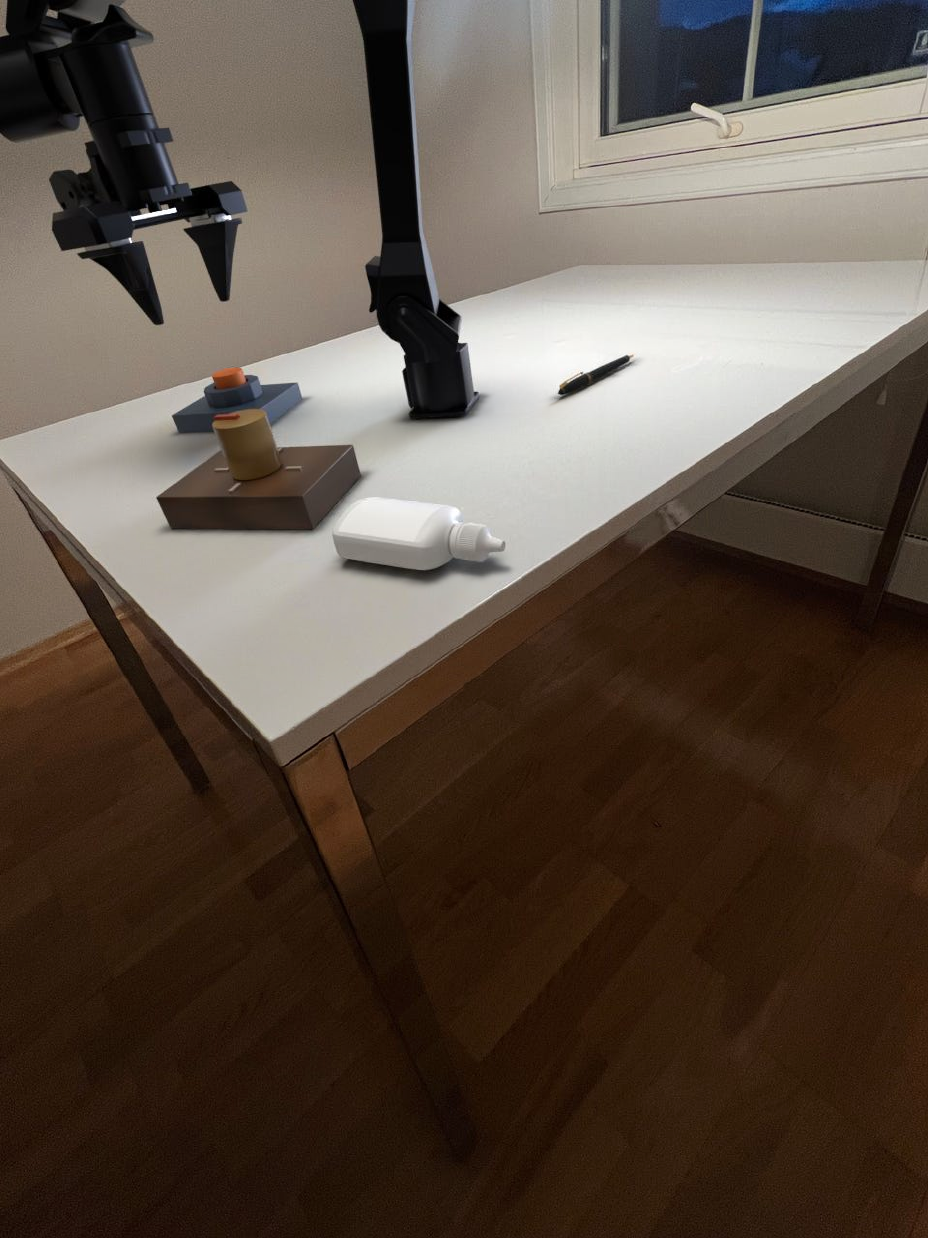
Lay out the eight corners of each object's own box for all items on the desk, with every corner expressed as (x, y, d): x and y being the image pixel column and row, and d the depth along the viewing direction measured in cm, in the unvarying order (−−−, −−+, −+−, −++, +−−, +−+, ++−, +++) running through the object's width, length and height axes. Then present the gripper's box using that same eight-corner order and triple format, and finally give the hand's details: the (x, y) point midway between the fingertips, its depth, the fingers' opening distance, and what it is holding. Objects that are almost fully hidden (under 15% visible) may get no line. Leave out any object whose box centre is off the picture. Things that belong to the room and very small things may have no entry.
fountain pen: (630, 359, 74) (631, 346, 73) (639, 360, 74) (639, 346, 73) (553, 399, 67) (552, 384, 66) (562, 400, 66) (561, 386, 66)
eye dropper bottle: (330, 494, 43) (487, 511, 38) (378, 497, 48) (523, 512, 43) (327, 558, 44) (480, 583, 39) (374, 554, 49) (516, 576, 44)
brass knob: (291, 458, 55) (274, 403, 53) (266, 480, 52) (246, 423, 49) (248, 459, 57) (229, 406, 54) (221, 480, 53) (199, 425, 51)
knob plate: (361, 475, 58) (352, 442, 56) (313, 529, 50) (301, 493, 49) (232, 477, 62) (220, 447, 60) (170, 528, 55) (154, 495, 53)
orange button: (252, 380, 77) (247, 366, 76) (236, 390, 75) (231, 375, 74) (227, 382, 78) (222, 368, 77) (211, 392, 76) (205, 377, 75)
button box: (303, 399, 81) (293, 367, 78) (263, 429, 73) (251, 394, 71) (223, 404, 84) (212, 373, 82) (178, 433, 77) (164, 400, 74)
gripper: (144, 130, 65) (204, 295, 75) (-31, 145, 53) (67, 341, 62) (221, 109, 60) (275, 288, 70) (48, 119, 48) (142, 337, 57)
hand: (193, 312), depth 65 cm, fingers open, 9 cm apart
